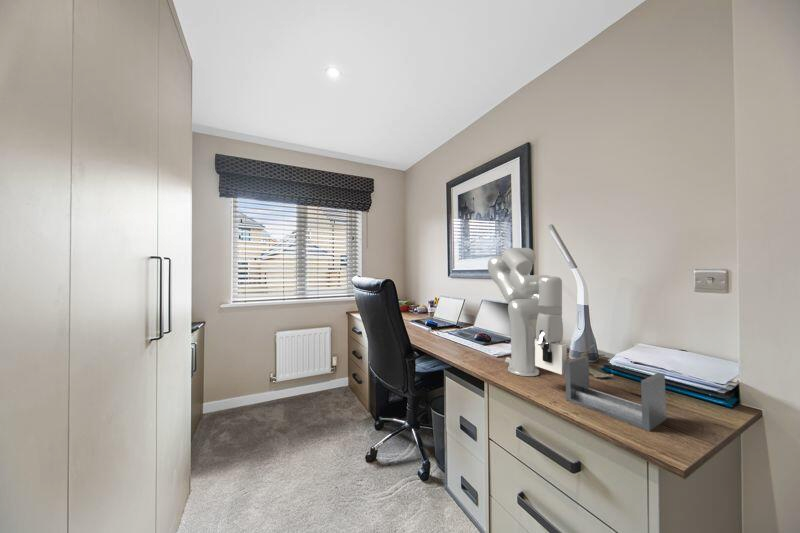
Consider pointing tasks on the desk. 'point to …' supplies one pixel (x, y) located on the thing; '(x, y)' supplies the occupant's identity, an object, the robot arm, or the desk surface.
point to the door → (557, 357)
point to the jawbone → (592, 371)
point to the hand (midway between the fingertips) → (550, 360)
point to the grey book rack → (616, 407)
